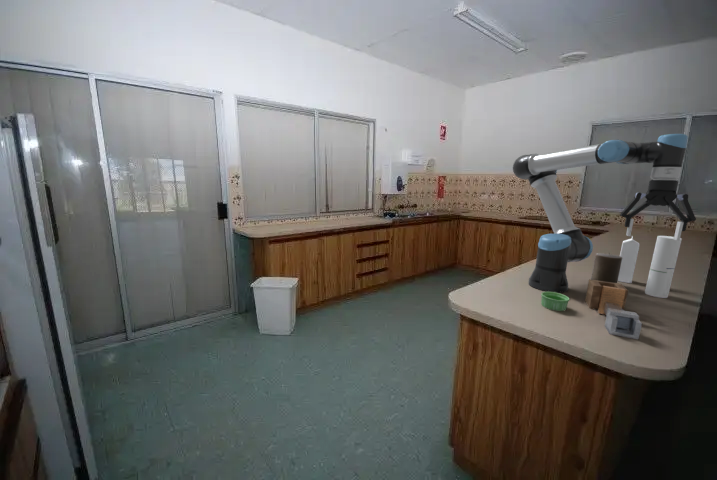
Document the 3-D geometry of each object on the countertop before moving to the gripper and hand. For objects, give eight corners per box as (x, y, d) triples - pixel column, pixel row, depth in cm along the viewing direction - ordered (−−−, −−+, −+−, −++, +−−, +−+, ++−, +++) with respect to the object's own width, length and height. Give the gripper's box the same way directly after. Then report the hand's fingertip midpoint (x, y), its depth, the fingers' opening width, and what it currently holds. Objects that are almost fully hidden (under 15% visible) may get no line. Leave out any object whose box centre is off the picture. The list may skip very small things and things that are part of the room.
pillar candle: (613, 288, 137) (620, 256, 134) (587, 282, 145) (593, 251, 142) (618, 284, 143) (625, 253, 140) (593, 279, 151) (599, 249, 148)
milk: (630, 280, 150) (640, 236, 145) (631, 283, 145) (641, 238, 141) (614, 277, 154) (624, 234, 149) (614, 280, 149) (624, 236, 144)
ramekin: (538, 300, 122) (539, 290, 121) (564, 304, 118) (566, 293, 117) (541, 309, 114) (543, 298, 113) (570, 313, 110) (572, 302, 109)
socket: (589, 308, 115) (593, 285, 114) (585, 300, 122) (589, 279, 121) (623, 314, 111) (628, 290, 109) (616, 306, 118) (621, 283, 116)
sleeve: (609, 333, 96) (613, 315, 95) (604, 325, 101) (608, 308, 100) (638, 339, 93) (642, 320, 92) (631, 331, 98) (635, 312, 97)
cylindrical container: (672, 298, 127) (686, 239, 122) (652, 296, 129) (665, 238, 124) (659, 292, 134) (672, 236, 129) (640, 290, 136) (653, 235, 130)
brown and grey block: (608, 328, 99) (614, 299, 97) (594, 306, 116) (599, 281, 114) (632, 333, 96) (639, 303, 94) (614, 309, 114) (619, 284, 112)
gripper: (622, 178, 113) (611, 235, 117) (719, 180, 101) (703, 243, 105) (617, 178, 119) (607, 232, 123) (707, 180, 108) (693, 239, 112)
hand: (651, 237), depth 114 cm, fingers open, 13 cm apart
